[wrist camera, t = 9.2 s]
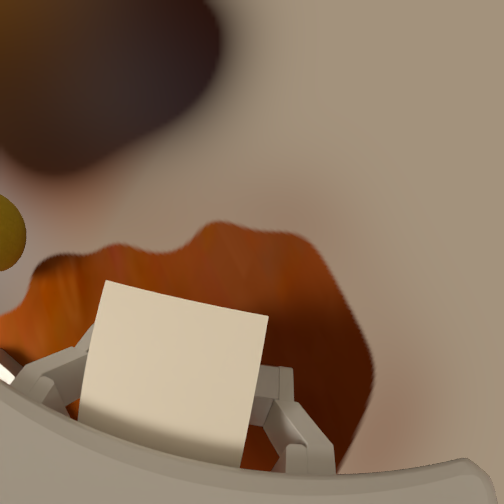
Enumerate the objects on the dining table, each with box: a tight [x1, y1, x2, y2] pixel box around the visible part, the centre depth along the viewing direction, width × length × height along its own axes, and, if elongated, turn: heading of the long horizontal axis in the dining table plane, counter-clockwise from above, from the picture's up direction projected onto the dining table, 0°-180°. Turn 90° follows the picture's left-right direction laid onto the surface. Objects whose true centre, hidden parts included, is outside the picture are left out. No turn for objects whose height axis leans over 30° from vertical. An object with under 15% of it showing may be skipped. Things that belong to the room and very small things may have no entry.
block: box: [78, 280, 269, 468], centre depth 11 cm, size 5×5×8 cm
